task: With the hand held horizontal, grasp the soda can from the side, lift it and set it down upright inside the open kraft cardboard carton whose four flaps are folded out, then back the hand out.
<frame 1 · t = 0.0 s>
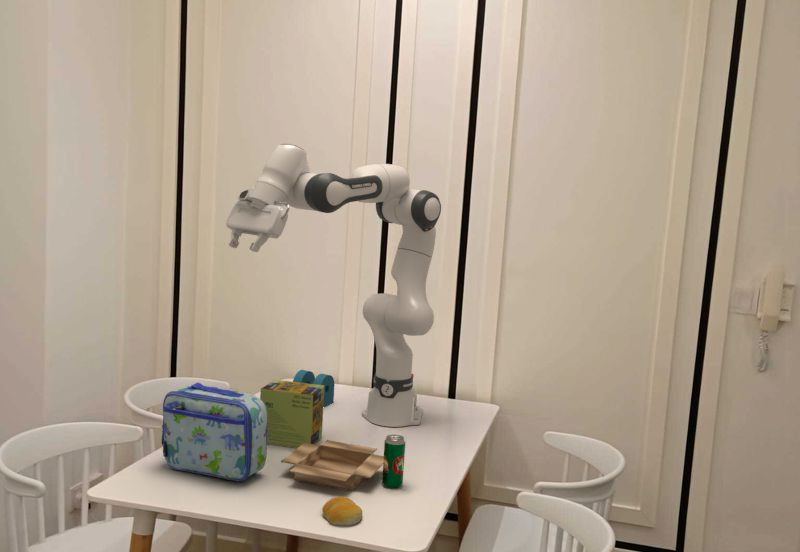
hand: (242, 248, 179), 54 cm above the table, tool tilted 30°, fingers open, 8 cm apart
carton: (334, 474, 180), on the table
soda can: (392, 485, 176), on the table
protein box: (290, 441, 201), on the table
camera mount: (304, 407, 233), on the table
bread roll: (341, 518, 157), on the table
lunch box: (211, 472, 177), on the table
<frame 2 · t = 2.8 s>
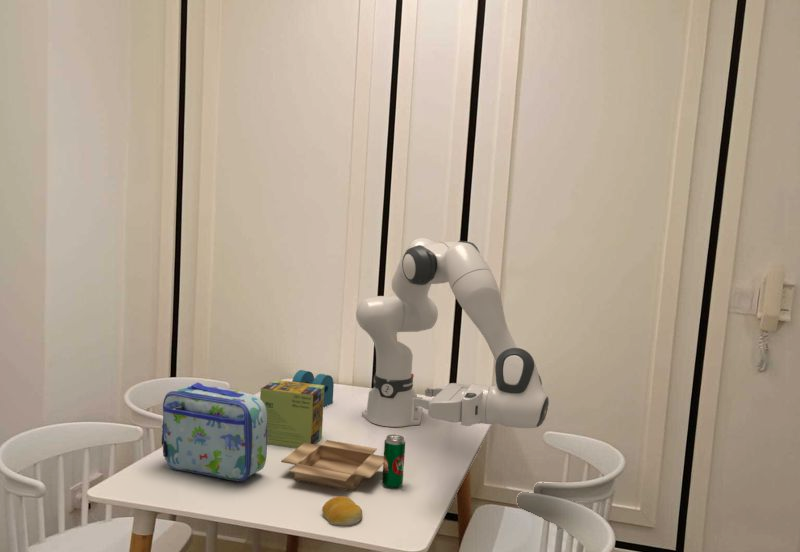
hand: (420, 396, 173), 23 cm above the table, tool horizontal, fingers open, 8 cm apart
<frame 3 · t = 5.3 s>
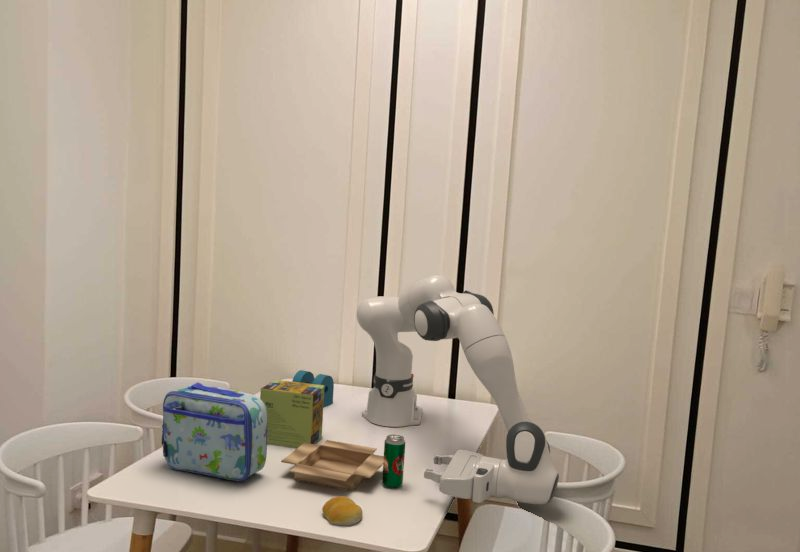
hand: (429, 466, 173), 6 cm above the table, tool horizontal, fingers open, 8 cm apart
nothing on the table moved.
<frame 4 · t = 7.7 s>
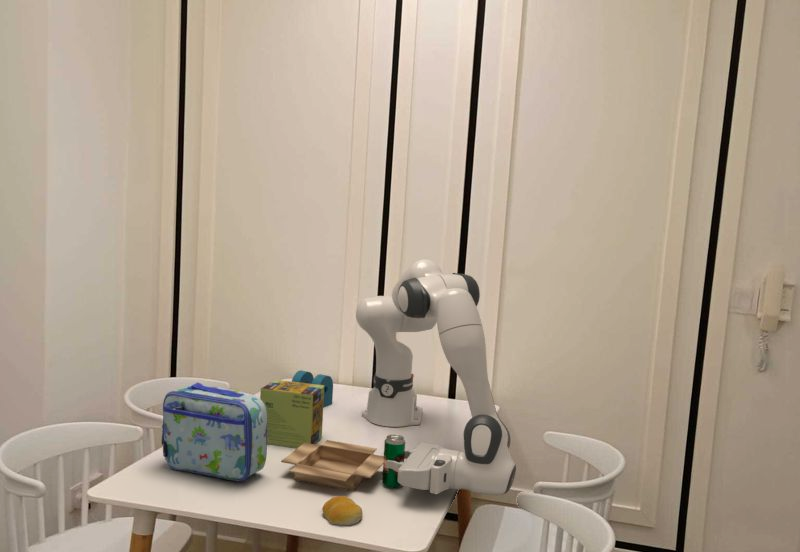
hand: (390, 458, 175), 7 cm above the table, tool horizontal, fingers closed on soda can, 5 cm apart
soda can: (392, 485, 176), on the table, touching gripper
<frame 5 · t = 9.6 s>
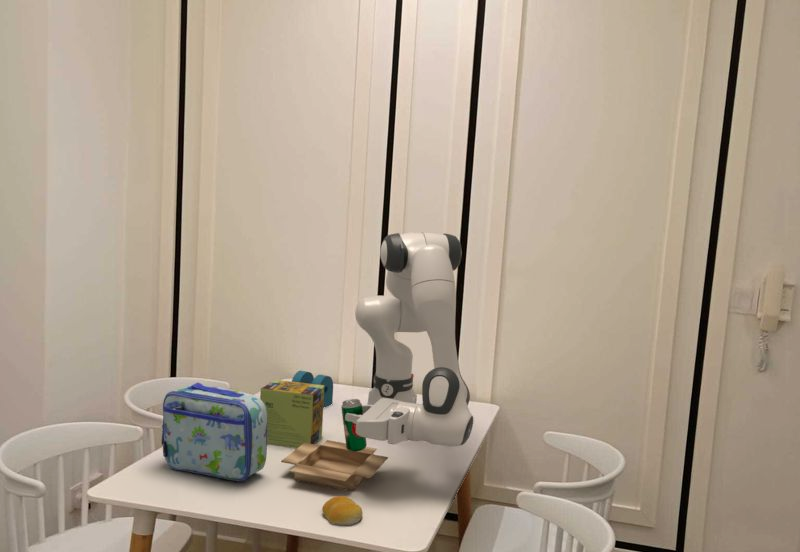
hand: (350, 412, 177), 16 cm above the table, tool horizontal, fingers closed on soda can, 5 cm apart
soda can: (356, 449, 178), point 7 cm above the table, touching gripper
when the fingers open (9 cm above the table, at t = 11.9 s): soda can stays where it is, resting on carton.
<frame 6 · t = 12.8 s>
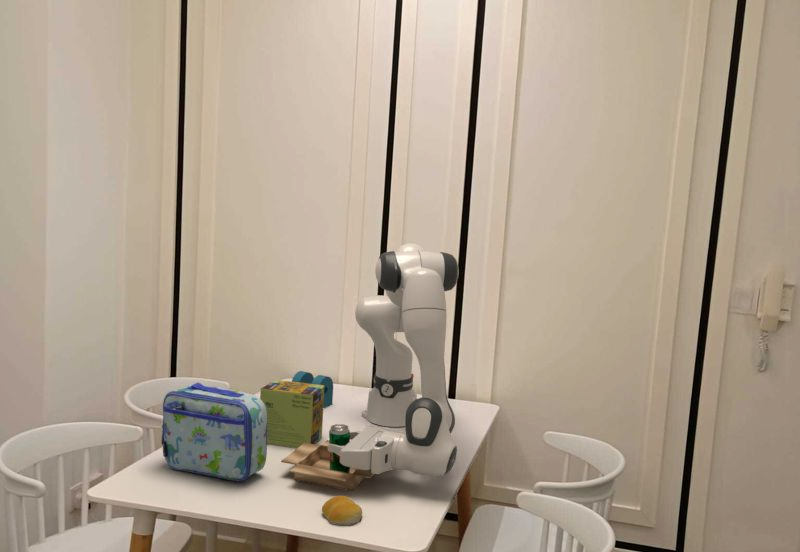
hand: (336, 440, 179), 9 cm above the table, tool horizontal, fingers open, 8 cm apart
soda can: (339, 473, 179), resting on carton
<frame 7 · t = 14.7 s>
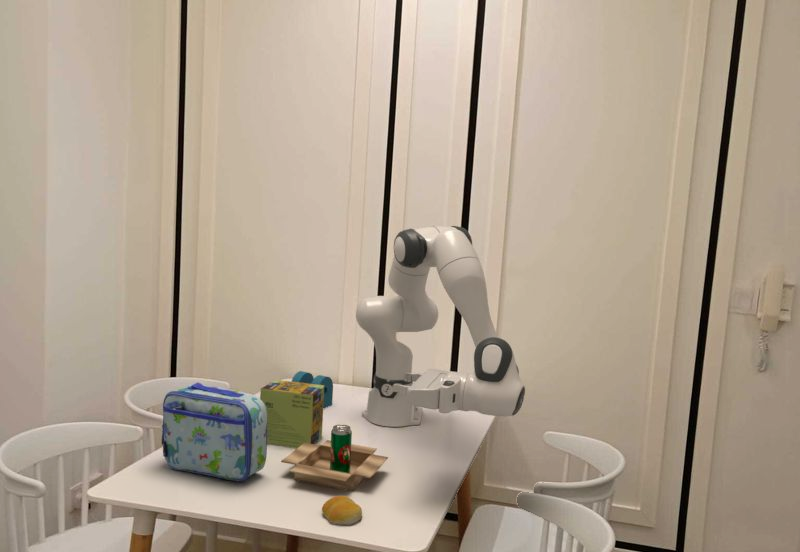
hand: (399, 381, 175), 25 cm above the table, tool horizontal, fingers open, 8 cm apart
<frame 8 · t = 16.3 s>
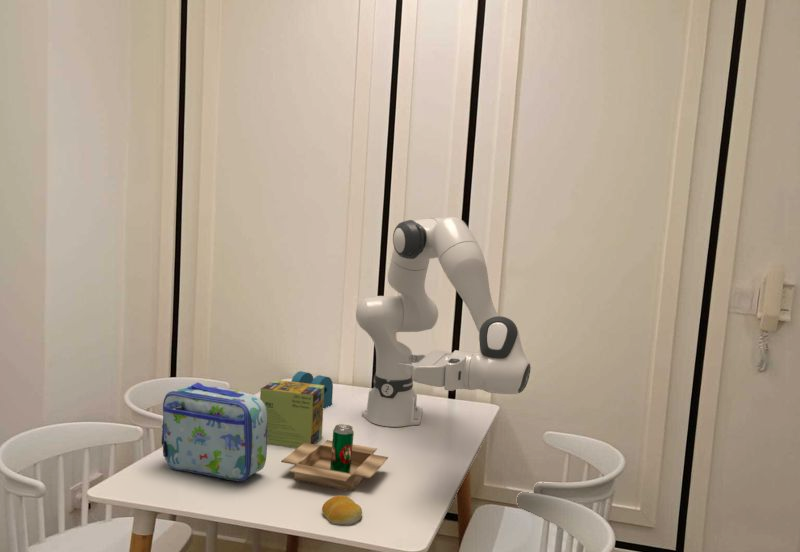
hand: (403, 362, 175), 30 cm above the table, tool horizontal, fingers open, 8 cm apart
at the end: soda can inside the target area on the carton (1.4 cm from its centre), point 0.3 cm above the carton's base; soda can tilted 1°; the gripper is holding nothing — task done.
